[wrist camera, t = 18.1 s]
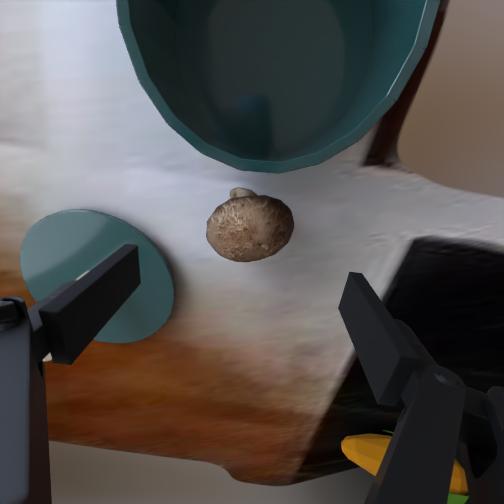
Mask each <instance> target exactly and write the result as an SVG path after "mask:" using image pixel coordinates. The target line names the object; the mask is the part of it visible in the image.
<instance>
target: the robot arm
mask: <svg viewBox="0 0 504 504" xmlns="http://www.w3.org/2000/svg"><path fill="white" fill-rule="evenodd" d="M140 284H141V278H140V265H139V253H138V245H132V244H125V245H123V246H122V247H121V248H119V249H118V250H117V251H115V252H114V253H113V254H111V255H110V256H109V257H107V258H106V259H105V260H103V261H102V262H101V263H100V264H98V265H97V266H96V267H94V268H93V269H92V270H90V271H89V272H88V273H86V274H85V275H84V276H82V277H81V278H80V279H78V280H72V281H69V282H67V283H65V284H62V285H61V286H59V287H58V288H57V289H55V290H54V291H53V292H51V293H50V294H48V295H47V297H44V298H43V299H41V300H40V301H39V302H37V303H36V304H34V305H33V306H32V307H30V308H29V309H28V310H27V308H26V304H25V301H24V299H23V298H21V297H18V296H8V297H2V298H0V504H52V499H51V480H50V462H49V461H50V460H49V443H48V442H49V441H48V422H47V403H46V384H45V365H44V362H43V359H44V358H45V357H46V356H47V355H48V354H49V353H50V354H51V357H52V361H53V363H59V364H67V365H71V364H72V363H73V362H74V361H75V360H76V359H77V357H78V356H79V355H80V354H81V353H82V352H83V350H84V349H85V348H86V347H87V346H88V345H89V343H90V342H91V341H92V340H93V339H94V338H95V336H96V335H97V334H98V333H99V332H100V331H101V329H102V328H103V327H104V326H105V325H106V324H107V322H108V321H109V320H110V319H111V318H112V317H113V315H114V314H115V313H116V312H117V311H118V310H119V308H120V307H121V306H122V305H123V304H124V303H125V301H126V300H127V299H128V298H129V297H130V296H131V294H132V293H133V292H134V291H135V290H136V289H137V287H138V286H139V285H140ZM338 309H339V311H340V314H341V316H342V318H343V321H344V323H345V326H346V328H347V331H348V333H349V335H350V338H351V340H352V343H353V345H354V348H355V350H356V352H357V355H358V357H359V360H360V362H361V364H362V367H363V369H364V372H365V374H366V377H367V379H368V381H369V384H370V386H371V389H372V391H373V394H374V396H375V398H376V401H377V403H378V404H382V405H390V406H396V405H397V403H398V401H399V399H400V397H402V399H403V401H404V403H405V405H406V406H405V408H404V409H403V411H402V413H401V415H400V417H399V419H398V420H397V422H396V423H397V426H396V428H395V431H394V433H393V435H392V438H391V440H390V443H389V445H388V447H387V450H386V452H385V455H384V457H383V459H382V462H381V464H380V467H379V469H378V471H377V474H376V476H375V479H374V481H373V483H372V486H371V488H370V491H369V493H368V496H367V498H366V500H365V503H364V504H447V502H448V496H449V490H450V484H451V478H452V472H453V466H454V461H455V454H456V449H457V443H458V441H459V443H460V449H461V454H462V459H463V465H464V471H465V477H466V482H467V488H468V493H469V499H470V504H504V388H502V387H494V386H493V387H492V388H490V390H489V391H488V392H487V394H486V393H483V392H480V391H477V390H475V389H472V388H469V387H466V386H465V384H464V383H463V381H462V380H461V379H460V378H459V377H458V376H457V375H456V374H454V373H453V372H451V371H450V370H448V369H446V368H444V367H441V366H438V365H437V364H436V362H435V361H434V360H433V358H432V357H431V356H430V354H429V353H428V352H427V350H426V349H425V347H424V346H423V345H422V344H421V343H420V341H419V339H418V338H417V337H416V335H415V334H414V333H413V331H412V330H411V329H410V327H408V326H407V325H406V324H405V323H403V322H402V321H401V320H395V319H393V318H392V316H391V315H390V313H389V312H388V310H387V309H386V307H385V306H384V305H383V303H382V302H381V300H380V299H379V297H378V296H377V294H376V293H375V291H374V290H373V289H372V287H371V286H370V284H369V283H368V281H367V280H366V278H365V277H364V276H363V274H362V273H355V272H349V275H348V278H347V282H346V285H345V288H344V291H343V295H342V298H341V301H340V304H339V308H338Z"/></svg>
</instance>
